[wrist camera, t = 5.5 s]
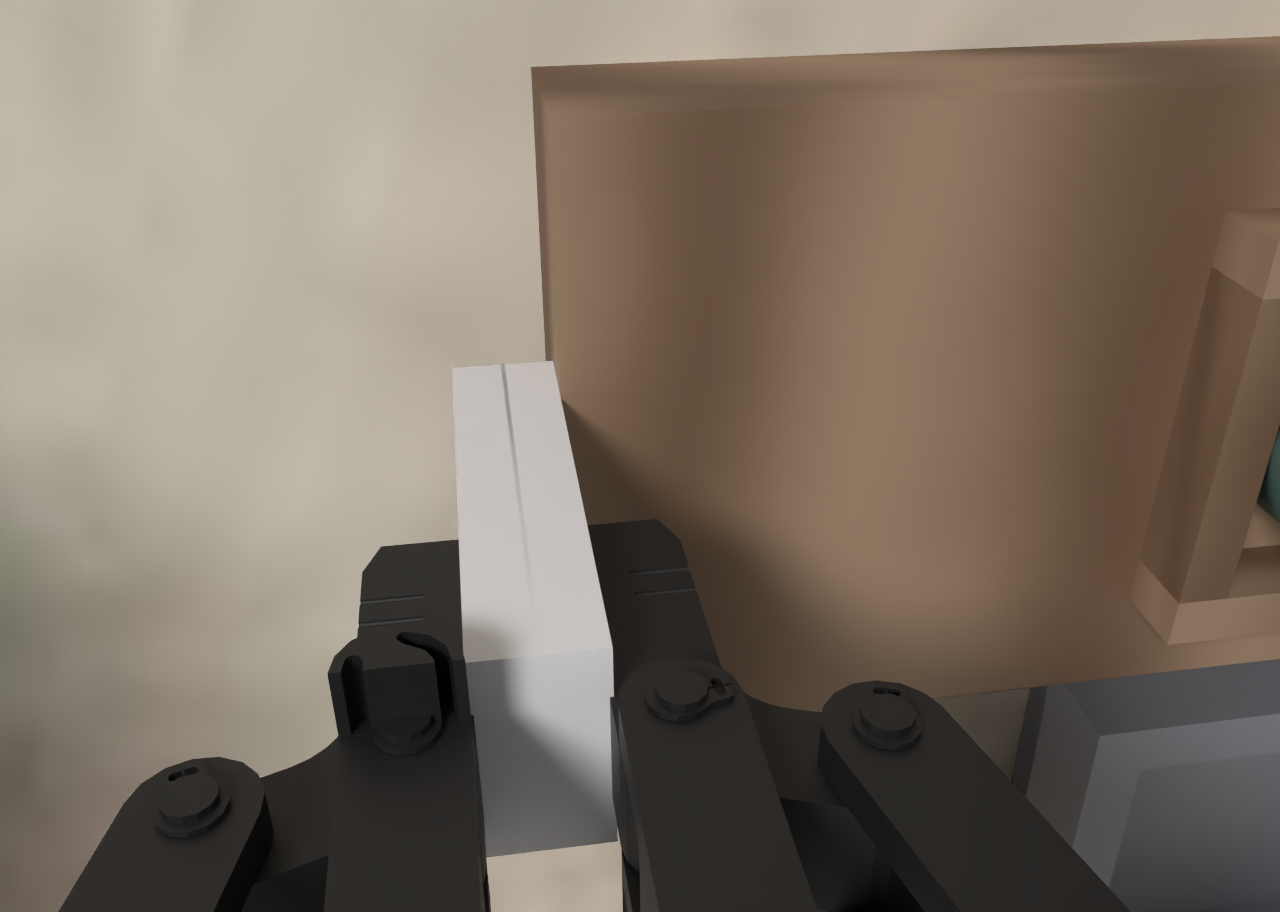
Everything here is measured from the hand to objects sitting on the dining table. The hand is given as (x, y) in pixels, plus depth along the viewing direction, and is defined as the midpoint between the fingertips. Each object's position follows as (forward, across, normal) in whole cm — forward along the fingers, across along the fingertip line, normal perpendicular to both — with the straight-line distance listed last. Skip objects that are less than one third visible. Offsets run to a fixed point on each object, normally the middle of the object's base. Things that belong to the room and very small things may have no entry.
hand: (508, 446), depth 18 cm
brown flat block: (+2, +9, 0) cm, 9 cm away
